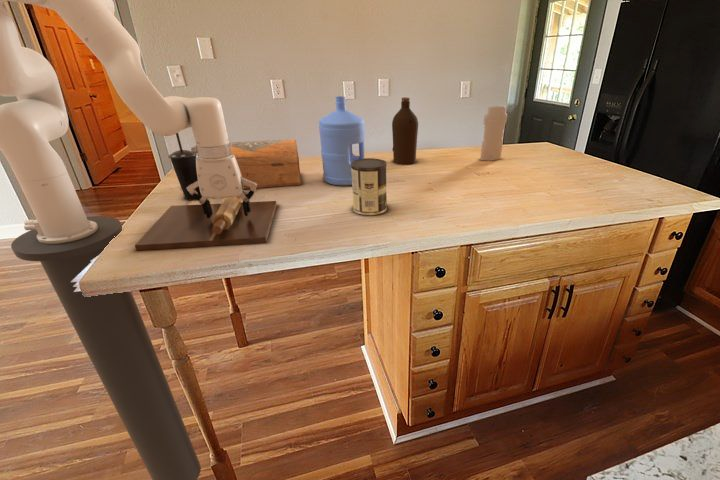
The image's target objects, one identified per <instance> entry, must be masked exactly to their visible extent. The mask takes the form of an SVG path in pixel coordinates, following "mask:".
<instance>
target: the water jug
mask: <svg viewBox="0 0 720 480" xmlns="http://www.w3.org/2000/svg"><path fill="white" fill-rule="evenodd" d="M335 106H336V108H335V110H334V111H332V112H330V113H328V114H327V115H325V116H323V117H321V118H320V119H319V120H318V131H319V138H320V148H321V149H320V153H321V159H322V176H323V177H322V178H323V181H324V182H326V183H327V184H329V185H333V186H339V187H340V186H342V187H344V186H345V187H347V186H352V172H351V162H352V161H354V160H358V159H366V158H365V141H366V124H365V120H364V118H362V117H360V116H358V115H356V114H354V113H353V112H351V111H349V110H347V107H346V97H345V96H342V95H341V96H335ZM357 144H358V154H359V155H355V154H354V153H353V145H357Z"/></svg>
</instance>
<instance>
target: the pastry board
mask: <svg viewBox="0 0 720 480" xmlns="http://www.w3.org/2000/svg"><path fill="white" fill-rule="evenodd" d="M277 203H278V202H277V200H265V201H250V207H251V212H249V214H248V216H245V214H244V209H243V204H242V202H241V207H240V209H239V211H238V213H237V215H236V217H235V219H234V221H233V223H232V225H231V226H230V227H229V228H228V230H223V231H222V233H221V234H215V233H214V232H213V230H212V229H213V227H214V226H213V222H212V218H213V217H214V215H215V213H216V212H217V210H218V209H219V207H220V205H221V204H222V202H221V203H210V205H211V209H212V213H213V214H212V216H211V217H210V218H207V216H206V214H204V211H203V207H202V204H200V203H199V204H182V205H180V204H178V205H170V206H169V207H168V209H166V210H165V212H164V213H163V214H162V215H161V216H160V217H159V219H157V220H156V221H155V222H154V224H152V226H151V227H150V228H149V229H148V230H147V231H146V232H145V233H144V235H143V236H142V237H140V239H139V240H138V241H137V242H136V243H135V244H134V247H135V251H137V252H141V251H155V250H169V249H171V250H172V249H186V248H203V247H219V246H233V245H249V244H250V245H251V244H266V243H267V242H268V238H269V235H270V231H271V227H272V224H273V220H274V217H275V214H276V211H277V207H278V204H277Z"/></svg>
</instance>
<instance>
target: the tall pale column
mask: <svg viewBox="0 0 720 480" xmlns="http://www.w3.org/2000/svg"><path fill="white" fill-rule="evenodd" d="M506 111H507V110H506V106H505V105H499V104H495V105H492V106H488V108H487V112H486V113H485V114H484V117H483V126H484V127H483V129H484V130H483V139H482V142H481V150H480V157H479V158H480V159H479V160H480V161H496V160H501V158H502V151H503V144H504V140H503V137H504V132H505V127H506V126H505V125H506V124H507V121H508V113H507V112H506Z"/></svg>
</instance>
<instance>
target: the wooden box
mask: <svg viewBox="0 0 720 480" xmlns="http://www.w3.org/2000/svg"><path fill="white" fill-rule="evenodd" d="M229 145H230V149H231V154H232V155H234V156H235V158H236V161H237V163H238V166H239V169H240V173H241V176H242V178H245V179H247V180H250V181H252V182H255V183H257V187H256V189H260V188H261V189H263V188H273V187H274V188H275V187H290V186H291V187H292V186H301V185H302V178H301V177H302V176H301V168H300V159H299V158H300V157H299V152H298V145H297V140H296V139H272V140H271V139H267V140H250V141H249V140H248V141H232V142H229ZM246 189H247V190H248V189H250V187H249V186H246V185H244V190H246Z"/></svg>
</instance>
